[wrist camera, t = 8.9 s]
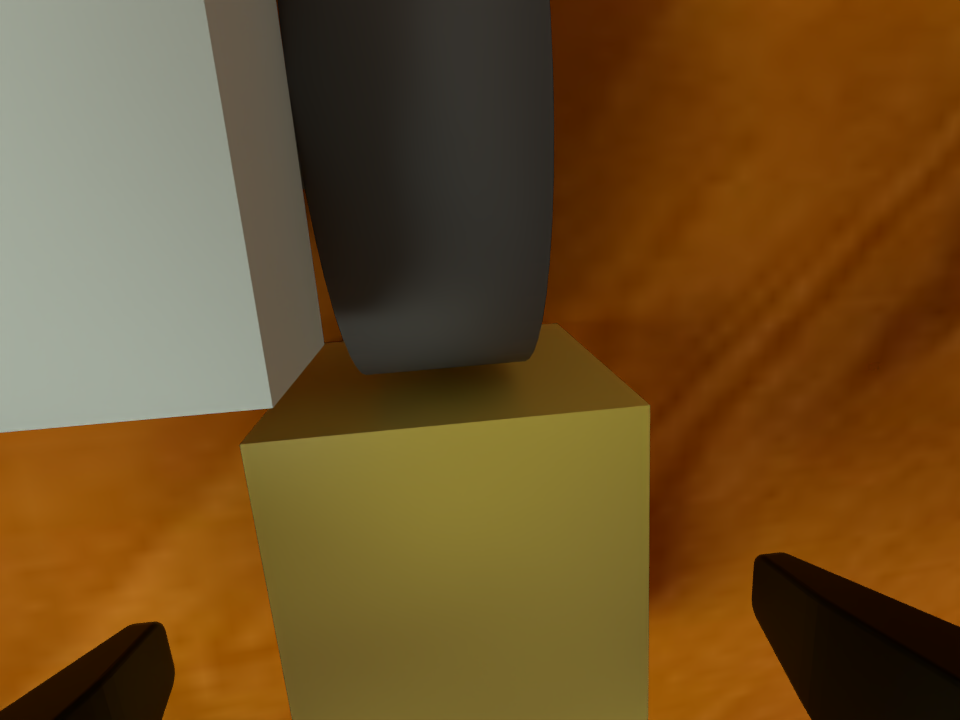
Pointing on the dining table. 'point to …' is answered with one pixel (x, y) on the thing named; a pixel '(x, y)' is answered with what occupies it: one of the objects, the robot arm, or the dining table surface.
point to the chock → (457, 538)
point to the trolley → (264, 196)
